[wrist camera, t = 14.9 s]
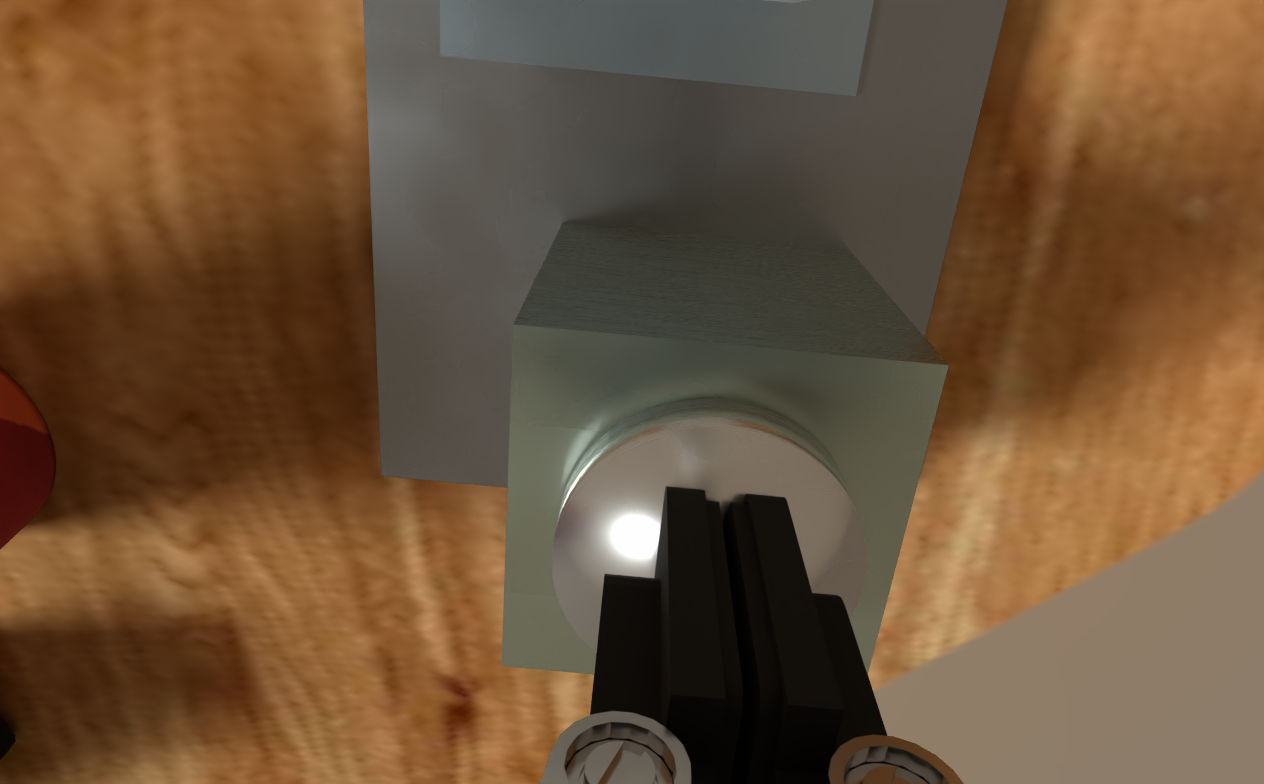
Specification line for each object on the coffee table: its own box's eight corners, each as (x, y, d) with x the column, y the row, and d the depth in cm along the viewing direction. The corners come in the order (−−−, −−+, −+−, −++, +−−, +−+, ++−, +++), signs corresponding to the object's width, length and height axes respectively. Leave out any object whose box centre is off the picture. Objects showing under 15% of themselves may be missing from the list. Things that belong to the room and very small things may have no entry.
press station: (368, -668, 13) (8, -1532, 6) (1117, -589, 13) (1678, -1341, 6) (399, 446, 21) (263, 667, 14) (864, 489, 21) (972, 731, 14)
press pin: (593, 283, 16) (560, 415, 11) (817, 304, 16) (897, 445, 11) (578, 479, 18) (544, 678, 13) (780, 497, 18) (834, 703, 13)
